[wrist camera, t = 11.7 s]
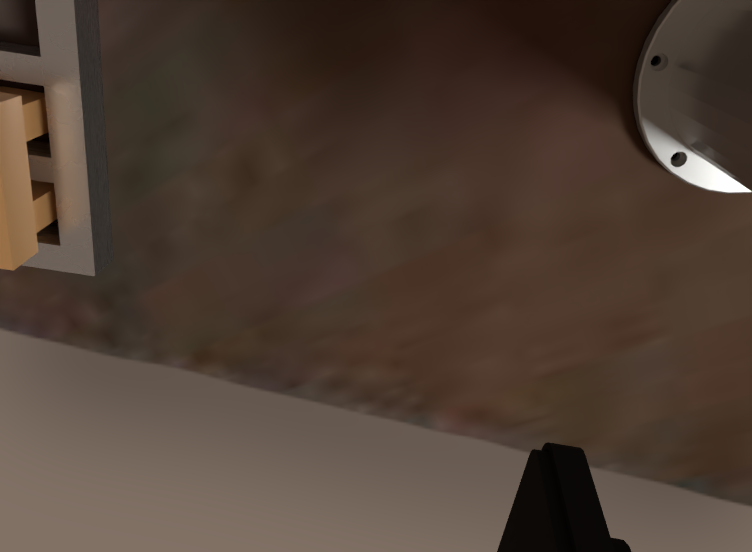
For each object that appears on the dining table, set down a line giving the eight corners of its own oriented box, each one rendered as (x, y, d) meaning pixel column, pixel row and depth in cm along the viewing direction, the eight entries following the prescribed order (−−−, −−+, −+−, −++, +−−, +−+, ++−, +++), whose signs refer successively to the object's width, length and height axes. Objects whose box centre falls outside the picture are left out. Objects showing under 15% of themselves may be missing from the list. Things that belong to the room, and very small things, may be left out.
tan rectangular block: (61, 82, 36) (-9, 105, 30) (72, 225, 40) (13, 270, 34) (-9, 71, 35) (-92, 91, 30) (10, 216, 40) (-60, 258, 34)
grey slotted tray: (85, -188, 30) (58, -201, 27) (113, 259, 40) (95, 276, 38) (-102, -217, 30) (-144, -232, 27) (-24, 238, 40) (-50, 254, 38)
